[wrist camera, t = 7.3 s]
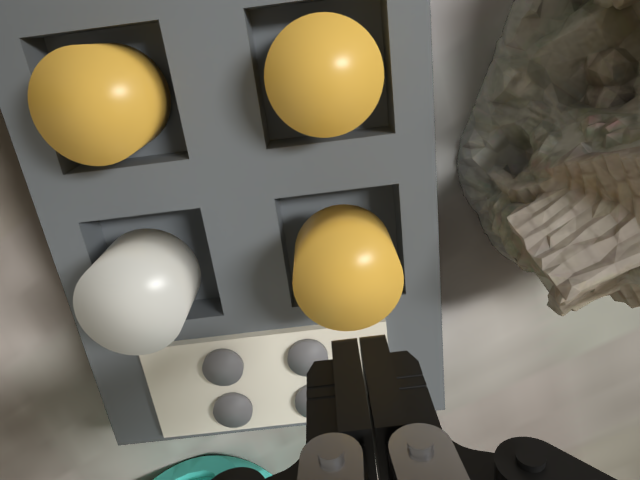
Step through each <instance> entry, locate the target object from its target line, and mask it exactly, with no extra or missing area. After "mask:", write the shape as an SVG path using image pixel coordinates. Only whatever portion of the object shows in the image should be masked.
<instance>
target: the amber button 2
mask: <svg viewBox="0 0 640 480" xmlns="http://www.w3.org/2000/svg"><path fill="white" fill-rule="evenodd" d="M264 82H265V88H266V93H267V96H268V99H269V101H270V103H271V105H272V107H273V109H274V110H275V112H276V113H277V115H278V116H279V117H280V118H281V119H282V120H283V121H284V122H285V123H286V124H287V125H288V126H290V127H291V128H293V129H294V130H296V131H298V132H300V133H302V134H305V135H308V136H312V137H319V138H329V137H336V136H340V135H343V134H346V133H348V132H350V131H352V130H354V129H355V128H357V127H358V126H360V125H361V124H362V123H363V122H364V121H365V120H366V119H367V118H368V117H369V116H370V115H371V113H372V112H373V110H374V109H375V107H376V105H377V103H378V101H379V99H380V96H381V93H382V89H383V83H384V66H383V60H382V56H381V53H380V51H379V48H378V46H377V44H376V42H375V41H374V39H373V38H372V36H371V35H370V34H369V32H368V31H367V30H366V29H365V28H364V27H363V26H361V25H360V24H359V23H357V22H356V21H354V20H353V19H351V18H349V17H346V16H344V15H341V14H337V13H331V12H317V13H312V14H308V15H305V16H302V17H300V18H298V19H296V20H294V21H293V22H291V23H290V24H289V25H287V26H286V27H285V28H284V29H283V30H282V31H281V32H280V33H279V34H278V36H277V37H276V38H275V40H274V42H273V43H272V45H271V47H270V49H269V52H268V54H267V58H266V62H265V68H264Z"/></svg>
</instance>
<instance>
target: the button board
mask: <svg viewBox="0 0 640 480" xmlns="http://www.w3.org/2000/svg"><path fill="white" fill-rule="evenodd" d="M317 12H331V13H337V14H341V15H344V16H346V17H349V18H351V19H353V20H354V21H356V22H357V23H359V24H360V25H361V26H363V27H364V28H365V29H366V30H367V31H368V32H369V34H370V35H371V36H372V38H373V39H374V41H375V42H376V44H377V46H378V48H379V51H380V53H381V56H382V60H383V66H384V83H383V89H382V93H381V96H380V99H379V101H378V103H377V105H376V107H375V109H374V110H373V112H372V113H371V115H370V116H369V117H368V118H367V119H366V120H365V121H364V122H363V123H362V124H361V125H360V126H358V127H357V128H355V129H354V130H352V131H350V132H348V133H346V134H343V135H340V136H336V137H329V138H319V137H312V136H308V135H305V134H302V133H300V132H298V131H296V130H294V129H293V128H291V127H290V126H288V125H287V124H286V123H285V122H284V121H283V120H282V119H281V118H280V117H279V116H278V115H277V113H276V112H275V110H274V109H273V107H272V105H271V103H270V101H269V99H268V96H267V93H266V88H265V82H264V68H265V62H266V58H267V54H268V52H269V49H270V47H271V45H272V43H273V42H274V40H275V38H276V37H277V36H278V34H279V33H280V32H281V31H282V30H283V29H284V28H285V27H286V26H287V25H289V24H290V23H291V22H293V21H294V20H296V19H298V18H300V17H302V16H305V15H308V14H312V13H317ZM99 43H120V44H124V45H128V46H131V47H133V48H135V49H137V50H139V51H141V52H143V53H144V54H146V55H147V56H148V57H149V58H150V59H152V61H153V62H154V63H155V64H156V65H157V66H158V67H159V69H160V70H161V72H162V73H163V75H164V77H165V79H166V81H167V84H168V87H169V90H170V96H171V110H170V115H169V119H168V121H167V124H166V126H165V127H164V129H163V130H162V132H161V133H160V134H159V135H158V136H157V137H156V138H155V139H154V140H152V141H151V142H149V143H148V144H146V145H145V146H143V147H142V148H141V149H139V150H138V151H136V152H135V153H133V154H132V155H130V156H129V157H127V158H126V159H124V160H122V161H120V162H118V163H115V164H112V165H107V166H89V165H84V164H81V163H77V162H74V161H72V160H70V159H68V158H66V157H64V156H63V155H61V154H60V153H58V152H57V151H56V150H54V149H53V148H52V147H51V146H50V145H49V144H48V143H47V142H46V141H45V140H44V138H43V137H42V136H41V134H40V133H39V131H38V130H37V128H36V126H35V124H34V122H33V120H32V117H31V114H30V110H29V105H28V86H29V81H30V78H31V75H32V73H33V71H34V69H35V67H36V66H37V64H38V63H39V62H40V61H41V60H42V59H43V58H44V57H45V56H46V55H47V54H49V53H50V52H52V51H54V50H55V49H58V48H61V47H64V46H69V45H80V44H99ZM0 109H1V112H2V114H3V117H4V120H5V123H6V126H7V129H8V132H9V134H10V137H11V140H12V143H13V146H14V149H15V152H16V154H17V157H18V160H19V163H20V166H21V169H22V172H23V174H24V177H25V180H26V183H27V186H28V189H29V192H30V194H31V197H32V200H33V203H34V206H35V209H36V212H37V214H38V217H39V220H40V223H41V226H42V229H43V232H44V234H45V237H46V240H47V243H48V246H49V249H50V252H51V254H52V257H53V260H54V263H55V266H56V269H57V272H58V274H59V277H60V280H61V283H62V286H63V289H64V292H65V294H66V297H67V300H68V303H69V306H70V309H71V312H72V314H73V317H74V320H75V323H76V326H77V329H78V332H79V334H80V337H81V340H82V343H83V346H84V349H85V352H86V354H87V357H88V360H89V363H90V366H91V369H92V372H93V374H94V377H95V380H96V383H97V386H98V389H99V392H100V394H101V397H102V400H103V403H104V406H105V409H106V412H107V414H108V417H109V420H110V423H111V426H112V429H113V432H114V434H115V437H116V440H117V443H118V445H126V444H135V443H145V442H154V441H163V440H172V439H181V438H190V437H199V436H208V435H218V434H227V433H236V432H245V431H254V430H263V429H272V428H281V427H290V426H300V425H306V401H307V398H306V392H307V372H308V371H309V369H310V367H311V366H312V364H313V362H314V361H321V360H330V359H332V346H331V341H334V340H342V339H351V338H357V341H358V347H359V353H360V360H361V352H360V343H359V337H367V336H375V335H384V334H385V336H386V339H387V343H388V347H389V351H390V352H397V351H406V350H407V351H408V352H409V353H410V354H411V355H413V356H414V357H415V358H416V359H417V360H418V361H419V364H420V367H421V370H422V373H423V376H424V379H425V382H426V385H427V387H428V390H429V393H430V396H431V399H432V402H433V405H434V408H435V411H436V410H445V396H444V368H443V341H442V313H441V286H440V259H439V231H438V204H437V176H436V149H435V121H434V94H433V66H432V39H431V11H430V0H0ZM341 204H348V205H355V206H359V207H362V208H365V209H367V210H369V211H370V212H372V213H373V214H375V215H376V216H377V217H378V218H379V219H380V220H381V221H382V222H383V223H384V225H385V227H386V228H387V230H388V233H389V235H390V237H391V240H392V243H393V245H394V248H395V250H396V253H397V255H398V258H399V260H400V263H401V266H402V269H403V275H404V285H403V291H402V294H401V297H400V299H399V301H398V303H397V305H396V306H395V308H394V309H393V310H392V311H391V313H390V314H389V315H388V316H386V317H385V318H384V319H383V320H381V321H380V322H378V323H376V324H375V325H373V326H370V327H368V328H365V329H361V330H356V331H337V330H332V329H328V328H325V327H323V326H321V325H319V324H317V323H315V322H314V321H312V320H311V319H310V318H309V317H307V316H306V315H305V314H304V312H303V311H302V310H301V308H300V307H299V305H298V303H297V301H296V299H295V296H294V292H293V284H292V282H293V267H294V253H295V242H296V238H297V235H298V233H299V231H300V229H301V227H302V226H303V224H304V223H305V222H306V221H307V220H308V219H309V218H310V217H311V216H312V215H313V214H315V213H316V212H318V211H320V210H322V209H324V208H326V207H329V206H333V205H341ZM144 228H150V229H158V230H162V231H165V232H168V233H170V234H173V235H174V236H176V237H178V238H179V239H181V240H182V241H183V242H184V243H185V244H187V245H188V246H189V248H190V249H191V250H192V251H193V253H194V254H195V256H196V258H197V260H198V263H199V266H200V271H201V282H200V287H199V290H198V292H197V294H196V297H195V299H194V301H193V304H192V306H191V308H190V311H189V313H188V315H187V318H186V320H185V322H184V325H183V327H182V329H181V331H180V333H179V335H178V336H177V338H176V339H175V340H174V341H173V342H172V343H171V344H169V345H168V346H167V347H165V348H164V349H162V350H160V351H157V352H154V353H151V354H146V355H125V354H120V353H117V352H114V351H111V350H108V349H106V348H104V347H103V346H101V345H99V344H98V343H96V342H95V341H94V340H93V339H91V338H90V337H89V336H88V335H87V334H86V333H85V331H84V330H83V329H82V327H81V326H80V324H79V322H78V320H77V318H76V316H75V312H74V308H73V295H74V290H75V287H76V284H77V283H78V281H79V279H80V278H81V277H82V275H83V274H84V273H85V272H86V271H87V270H88V269H89V268H90V267H91V266H92V264H93V263H94V262H95V261H96V260H97V259H98V258H99V257H100V256H101V255H102V254H103V253H104V252H105V251H106V249H107V248H108V247H109V246H110V245H111V244H112V243H113V242H114V241H115V240H116V239H117V238H118V237H120V236H121V235H123V234H125V233H127V232H129V231H132V230H136V229H144ZM361 366H362V361H361ZM362 372H363V370H362Z"/></svg>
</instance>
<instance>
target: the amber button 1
mask: <svg viewBox="0 0 640 480" xmlns="http://www.w3.org/2000/svg"><path fill="white" fill-rule="evenodd" d="M28 105H29V110H30V114H31V117H32V120H33V122H34V124H35V126H36V128H37V130H38V131H39V133H40V134H41V136H42V137H43V138H44V140H45V141H46V142H47V143H48V144H49V145H50V146H51V147H52V148H53V149H54V150H56V151H57V152H58V153H60V154H61V155H63V156H64V157H66V158H68V159H70V160H72V161H74V162H77V163H81V164H84V165H89V166H107V165H112V164H115V163H118V162H120V161H122V160H124V159H126V158H127V157H129V156H130V155H132V154H133V153H135V152H136V151H138V150H139V149H141V148H142V147H143V146H145V145H146V144H148V143H149V142H151V141H152V140H154V139H155V138H156V137H157V136H158V135H159V134H160V133H161V132H162V130H163V129H164V127H165V126H166V124H167V121H168V119H169V115H170V110H171V96H170V90H169V87H168V84H167V81H166V79H165V77H164V75H163V73H162V72H161V70H160V69H159V67H158V66H157V65H156V64H155V63H154V62H153V61H152V59H150V58H149V57H148V56H147V55H146V54H144V53H143V52H141V51H139V50H137V49H135V48H133V47H131V46H128V45H124V44H120V43H99V44H80V45H69V46H64V47H61V48H58V49H55V50H54V51H52V52H50V53H49V54H47V55H46V56H45V57H44V58H43V59H42V60H41V61H40V62H39V63H38V64H37V66H36V67H35V69H34V71H33V73H32V75H31V78H30V81H29V86H28Z"/></svg>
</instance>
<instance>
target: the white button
mask: <svg viewBox="0 0 640 480" xmlns="http://www.w3.org/2000/svg"><path fill="white" fill-rule="evenodd" d="M200 282H201V271H200V266H199V263H198V260H197V258H196V256H195V254H194V253H193V251H192V250H191V249H190V248H189V246H188V245H187V244H185V243H184V242H183V241H182V240H181V239H179V238H178V237H176V236H174V235H173V234H170V233H168V232H165V231H162V230H158V229H150V228H144V229H136V230H132V231H129V232H127V233H125V234H123V235H121V236H120V237H118V238H117V239H116V240H115V241H114V242H113V243H112V244H111V245H110V246H109V247H108V248H107V249H106V251H105V252H104V253H103V254H102V255H101V256H100V257H99V258H98V259H97V260H96V261H95V262H94V263H93V264H92V266H91V267H90V268H89V269H88V270H87V271H86V272H85V273H84V274H83V275H82V277H81V278H80V279H79V281H78V283H77V284H76V287H75V290H74V295H73V308H74V312H75V316H76V318H77V320H78V322H79V324H80V326H81V327H82V329H83V330H84V331H85V333H86V334H87V335H88V336H89V337H90V338H91V339H93V340H94V341H95V342H96V343H98V344H99V345H101V346H103V347H104V348H106V349H108V350H111V351H114V352H117V353H120V354H125V355H146V354H151V353H154V352H157V351H160V350H162V349H164V348H165V347H167V346H168V345H169V344H171V343H172V342H173V341H174V340H175V339H176V338H177V336H178V335H179V333H180V331H181V329H182V327H183V325H184V322H185V320H186V318H187V315H188V313H189V311H190V308H191V306H192V304H193V301H194V299H195V297H196V294H197V292H198V290H199V287H200Z"/></svg>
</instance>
